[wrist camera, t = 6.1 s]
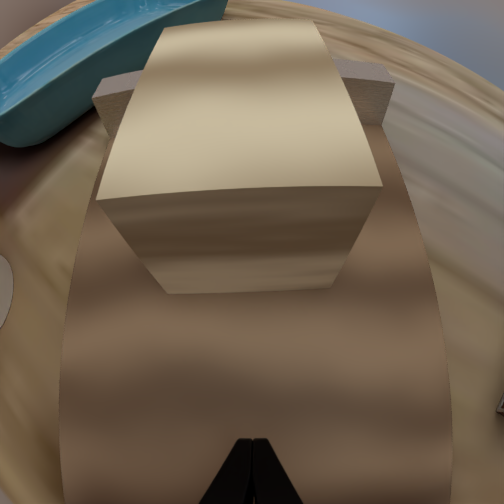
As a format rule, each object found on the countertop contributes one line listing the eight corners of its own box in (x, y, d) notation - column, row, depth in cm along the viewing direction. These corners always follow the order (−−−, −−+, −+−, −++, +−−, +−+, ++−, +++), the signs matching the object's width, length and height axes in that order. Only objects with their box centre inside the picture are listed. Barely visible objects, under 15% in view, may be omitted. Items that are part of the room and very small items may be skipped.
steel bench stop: (381, 125, 20) (395, 83, 17) (110, 138, 21) (91, 98, 17) (371, 105, 21) (383, 64, 18) (118, 117, 22) (102, 78, 18)
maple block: (330, 287, 15) (382, 186, 8) (167, 293, 15) (95, 200, 8) (302, 122, 20) (311, 19, 13) (187, 127, 21) (164, 27, 13)
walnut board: (435, 515, 10) (447, 521, 9) (82, 522, 10) (69, 529, 9) (366, 115, 23) (370, 101, 22) (125, 126, 23) (119, 113, 22)
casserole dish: (158, 6, 39) (152, -28, 33) (267, 21, 33) (266, -25, 27) (-29, 140, 27) (-54, 105, 21) (11, 212, 21) (-37, 160, 14)
